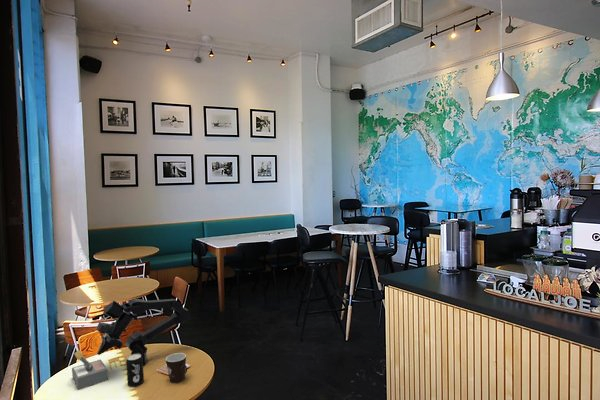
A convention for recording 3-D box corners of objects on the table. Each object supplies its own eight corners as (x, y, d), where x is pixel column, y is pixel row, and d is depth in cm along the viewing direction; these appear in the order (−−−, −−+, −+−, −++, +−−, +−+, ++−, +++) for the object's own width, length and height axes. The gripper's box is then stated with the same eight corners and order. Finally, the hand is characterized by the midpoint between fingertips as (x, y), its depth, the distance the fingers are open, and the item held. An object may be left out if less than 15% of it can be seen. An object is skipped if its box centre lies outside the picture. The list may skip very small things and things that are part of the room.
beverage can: (128, 388, 173) (126, 361, 172) (127, 382, 178) (125, 355, 178) (144, 384, 176) (143, 357, 175) (143, 378, 181) (141, 352, 181)
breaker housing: (101, 369, 191) (100, 359, 191) (108, 380, 181) (107, 368, 180) (72, 378, 184) (71, 367, 183) (78, 389, 173) (77, 378, 173)
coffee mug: (166, 377, 181) (164, 355, 181) (186, 372, 185) (184, 351, 184) (168, 389, 171) (167, 366, 170) (189, 384, 174) (188, 362, 173)
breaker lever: (91, 363, 185) (78, 349, 181) (93, 367, 181) (80, 353, 177) (87, 367, 184) (74, 353, 180) (89, 371, 180) (76, 357, 176)
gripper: (102, 310, 193) (78, 339, 187) (112, 320, 179) (87, 353, 173) (121, 321, 199) (98, 350, 193) (132, 332, 184) (108, 364, 178)
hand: (98, 354), depth 184 cm, fingers closed
